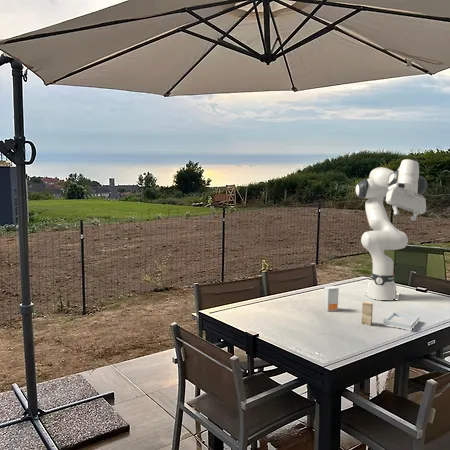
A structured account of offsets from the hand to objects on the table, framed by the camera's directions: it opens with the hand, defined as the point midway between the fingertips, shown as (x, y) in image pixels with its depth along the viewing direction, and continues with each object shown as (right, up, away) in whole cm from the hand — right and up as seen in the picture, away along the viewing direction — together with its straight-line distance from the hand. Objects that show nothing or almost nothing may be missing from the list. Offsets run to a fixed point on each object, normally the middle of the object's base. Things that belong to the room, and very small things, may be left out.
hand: (404, 217), depth 196 cm
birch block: (-18, -50, 0) cm, 53 cm away
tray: (-2, -50, 0) cm, 50 cm away
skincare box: (-30, -48, +21) cm, 60 cm away
